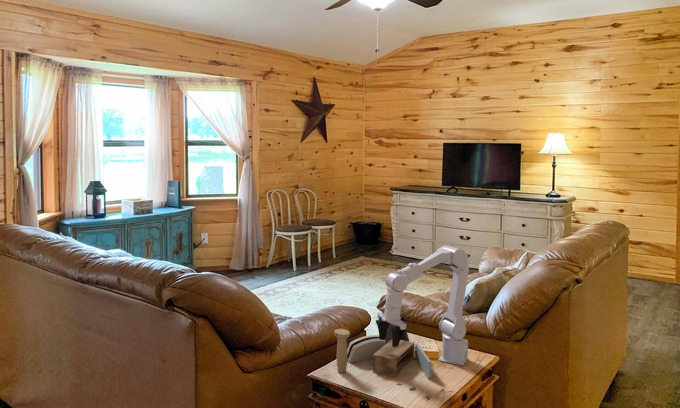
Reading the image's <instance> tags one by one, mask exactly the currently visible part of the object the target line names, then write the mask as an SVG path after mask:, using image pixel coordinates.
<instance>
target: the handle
mask: <svg viewBox="0 0 680 408" xmlns="http://www.w3.org/2000/svg"><path fill="white" fill-rule="evenodd" d="M333 330H334V331H333V333H334V336H335V337H336V339H337V347H336V368H337V372H338V373H341V374H343V373H346V372H347V367H348V359H347V349H348V347H347V346H348V345H347V343H348V341H347V339H348V338H350V337H351V333H350V331H349V330H348V329H344V328H336V329H333Z"/></svg>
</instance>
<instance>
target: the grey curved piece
mask: <svg viewBox="0 0 680 408" xmlns="http://www.w3.org/2000/svg"><path fill="white" fill-rule="evenodd" d="M385 344H386V341H385V340H380V338H379V334H372V335H371V334H370V335H365V336H361V337H358V338H356V339H354V340H352V341H350V343H349V344H348V345H347V346H348V347H347V363H349V364H350V363H354V362H359V361H363V360H367V359H373V354H374V353H376V352H377V351H378V350H379V349H380V348H382V347H383V346H384V345H385Z"/></svg>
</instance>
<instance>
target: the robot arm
mask: <svg viewBox="0 0 680 408" xmlns="http://www.w3.org/2000/svg"><path fill="white" fill-rule="evenodd" d="M468 259H469V254H468V253H467V252H466V251H465V250H463V249H462V248H457V247H454V246H451V245H450V244H449V245H448V244H445V245H443V246H441V247H438V248H437V250H436V251H435V252H433V253H432V254H430V255H429V256H427V257H426V258H424V259H423V260H421V261H420V262H418V263H417V262H410V263H408V265H407V266H406V267H403V268H401V269H397V272H391V273H389V274H388V275H387V277H386V279H385V280H384V283H385V285H386V296H385V297H386V299H385V306H384V312H377V316H376V318H377V319H376V320H375V324H376V326H377V330H378V335H379V338H380V340H385V338H386V334H387V330H388V326H389V324H390V323H391V324H393V325H395V326H396V327H391V330H392V346H393V347H398V345H399V342H400V340H401V338H402V336H403V334H404V333H405V332H406V331H407V330H408V329H407V324H406V322H405V323H404V322H403V321H402V320H400V316H401V313H402V312H401V311H402V303H403V296H404V291H406V289H407V288H408V285H409V284H411V283H413V282H414V281H416V280H418V279H420V278H421V277H422V275H423V272H426V271H427V270H429V269H432V268H434V267H435V266H437V265H439V264H447V265H449V267H450V268H451V270H452V271H453V273H452V274H453V275H452V280H451V287H450V292H449V299H448V304H447V305H448V306H447V310H446V311H445V312H443V314H442V317H441V319H440V321H439V323H438V328H439V331H440V332H441V335H442V342H441V343H442V347H441V348H442V351H441V356H440V357H439V358H438V361H439V362H442V363H443V362H444V363H449V364H453V365H459V366H464V365H465V363H466V362H467V361H468V359H469V354H468V353H469V341H468V339H465V338H464V337H465V335H466V334H467V327H466V319H465V317H464V316H463V309H464V303H465V296H466V289H467V283H468V278H469V272H470V266H469V261H468Z"/></svg>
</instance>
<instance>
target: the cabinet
mask: <svg viewBox="0 0 680 408" xmlns="http://www.w3.org/2000/svg"><path fill="white" fill-rule="evenodd" d="M414 359H415V342H414V341H410V340H409V341H404V340H400V342H399V345H398V347H393V346H392V339H391V340H390V341H389V342H388V343H387V344H385V345H384V346H383V347H382V348H380V349H379V350H378V351H377V352H376V353H374V354H373V357H372V373H374V374H375V373H376V374H381V375H385V376H390V377H394V378H396V377H397V376H398V375H400V373H401V372H402V371H403V370H404V369H405V368H407V366H408V365H410V363H411V362H412V361H413V360H414Z"/></svg>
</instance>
